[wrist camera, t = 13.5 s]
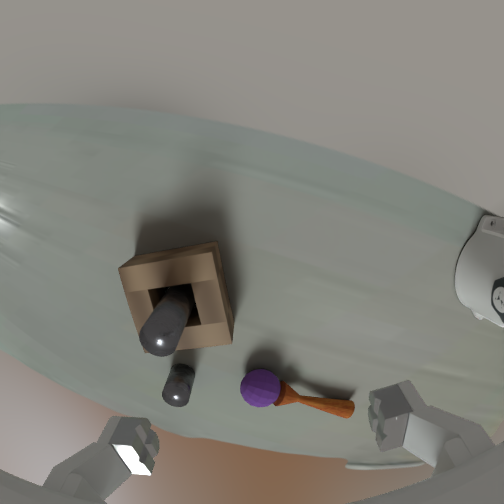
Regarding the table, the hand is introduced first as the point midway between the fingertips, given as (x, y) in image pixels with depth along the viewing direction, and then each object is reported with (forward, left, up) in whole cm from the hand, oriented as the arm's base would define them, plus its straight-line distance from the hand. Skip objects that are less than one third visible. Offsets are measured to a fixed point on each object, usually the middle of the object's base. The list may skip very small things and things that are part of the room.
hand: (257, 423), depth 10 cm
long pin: (+10, +6, -32) cm, 34 cm away
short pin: (+15, +19, -32) cm, 40 cm away
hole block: (+11, +6, -32) cm, 34 cm away
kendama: (-3, +26, -33) cm, 42 cm away
